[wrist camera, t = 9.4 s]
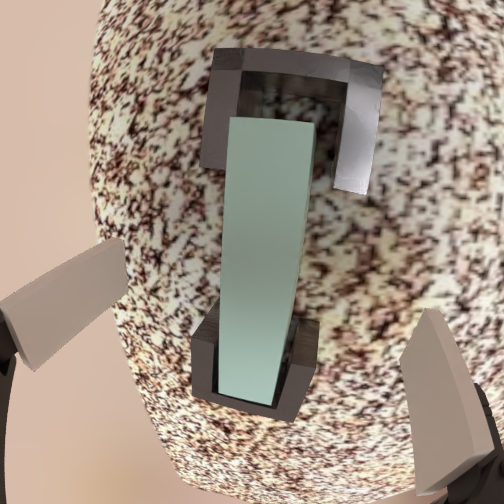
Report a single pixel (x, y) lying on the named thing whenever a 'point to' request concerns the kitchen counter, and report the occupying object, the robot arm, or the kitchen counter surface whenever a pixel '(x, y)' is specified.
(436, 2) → the kitchen counter surface
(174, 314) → the kitchen counter surface
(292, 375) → the cap
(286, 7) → the kitchen counter surface
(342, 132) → the cap
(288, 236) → the pale green rectangular block
